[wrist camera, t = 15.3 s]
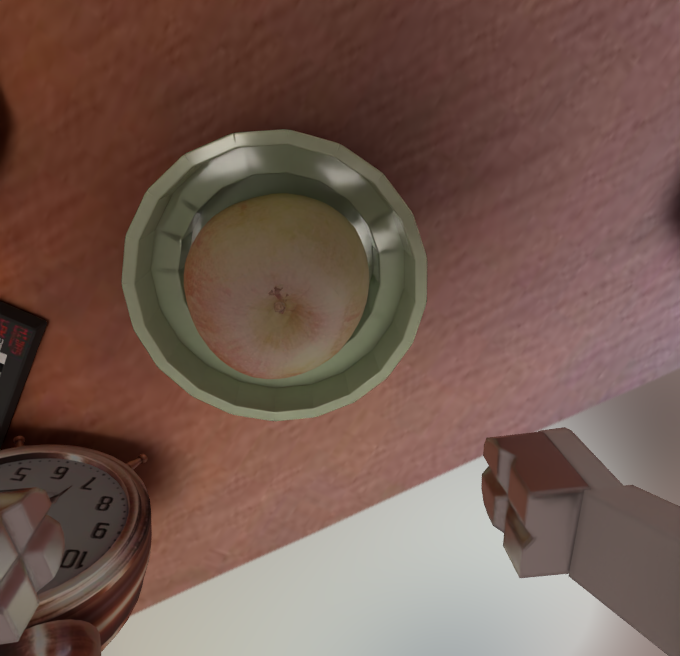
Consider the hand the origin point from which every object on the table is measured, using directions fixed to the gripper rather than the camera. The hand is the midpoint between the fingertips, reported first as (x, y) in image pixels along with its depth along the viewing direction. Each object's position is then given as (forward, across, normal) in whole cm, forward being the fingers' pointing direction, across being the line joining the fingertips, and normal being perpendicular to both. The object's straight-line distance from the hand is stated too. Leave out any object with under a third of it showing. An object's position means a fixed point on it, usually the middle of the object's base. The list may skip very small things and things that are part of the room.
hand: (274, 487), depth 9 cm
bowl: (+16, 0, 0) cm, 16 cm away
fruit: (+15, 0, 0) cm, 15 cm away
